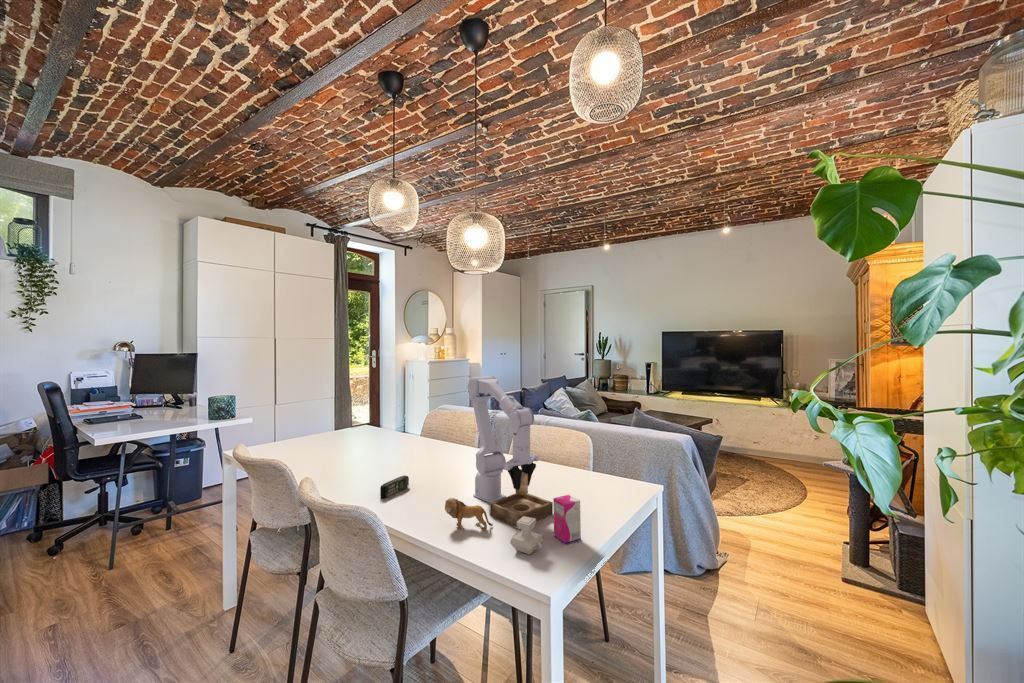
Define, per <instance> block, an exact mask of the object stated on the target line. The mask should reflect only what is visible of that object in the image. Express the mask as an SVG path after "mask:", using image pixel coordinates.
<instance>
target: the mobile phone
mask: <svg viewBox="0 0 1024 683" xmlns="http://www.w3.org/2000/svg"><path fill="white" fill-rule="evenodd" d="M409 485H410V477H409V476H408V475H402V476H399V477H396V478H394V479H391V480H389V481H387V482H384V483H383V484H381V485H380V487H379V488H380V490H379V491H380V492H379V493H380V495H379V496H380V499H383V500H384V499H386V498H389V497H391V496H394V495H395V494H397V493H399V492H402V491H404V490H406V488H407V487H409Z"/></svg>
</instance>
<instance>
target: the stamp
mask: <svg viewBox="0 0 1024 683" xmlns="http://www.w3.org/2000/svg"><path fill="white" fill-rule="evenodd" d="M536 524H537V522H536V519H534V518H530V517H525V516H523V517H522V518H521V519H519V520H518V521H517V526H518V528H517V529H519V530H521V529H522V530H521V531H519V532H518V533H516V534H515V535H513V536H512V538H511V539H510V541H509V543H510V545H511V547H513V549H514V550H515V551H517V552H520V553H525V554H527V555H531V554H532V553H533V552H534V551H535V550H536V549H541V548H542V544H541V542H542V541H543V536H542V534H540V533H536V532H533V531H532V529H533V528H535V527H536Z"/></svg>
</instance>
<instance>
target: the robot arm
mask: <svg viewBox="0 0 1024 683" xmlns="http://www.w3.org/2000/svg"><path fill="white" fill-rule="evenodd" d="M467 383H468V384H467V390H468V395H469V396H468V397H469V400H470V401H471V402H472V406H473V411H474V412H473V413H474V417H475V422H476V423H475V424H476V427H477V432H478V439H479V442H480V448H479V449H478V451H477V452H476V453H475V458H476V459H475V468H476V470H477V473H476V474H475V478H474V494H473V495H472V496H473V497H475V498H478V499H479V500H481V501H484V502H487V503H489V504H490V503H492V502H495V501H498V500H500V499H503V498H505V497H507V495H505V494H503V493H502V473H503V472H504V471H507V473H508V474H509V477H510V478H511V482H512V486H513V489H514V490H515V491H516V490H519V489H520V480H521V475H522V472H525V473H527V474H528V487H529V486H530V484H531V479H532V477H533V473H534V471H535V469H536V468H537V464H536V463H534V462H538V461H539V455H538V454H534V453H533V454H531V426H532V425H533V423H534V421H535V414H534V412H533V410H532V409H531V408H530V407H525V406H523V405H521V403H520V402H518V401H517V400H516V399H515V397H514V396H513V395H507V394H506V392H505V391H504V390H503V389H502V387H501V386H500V384H499V379H497V377H496V376H495V375H489V376H486V375H485V376H471V377H470V378H469V380H468V382H467ZM491 398H494V399H495V400H496V401H498V403H499V408H500V409H501V411H503V413H505V415H506V416H507V417H508V420H509V424H510V430H511V433H512V458H511V459H509V460H508V461H506V457H505V455H504V452H503V449H502V448H501V447H499V445H497V444H496V442H495V437H494V432H493V427H492V422H491V418H490V413H489V407H488V401H489V400H490V399H491Z"/></svg>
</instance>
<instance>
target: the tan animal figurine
mask: <svg viewBox="0 0 1024 683" xmlns="http://www.w3.org/2000/svg"><path fill="white" fill-rule="evenodd" d="M444 511H445V513H447V515H449V516H451V518H452V519H456V520H457V522H456V526H457V527H456V530H461V528H462V523H463V522H462V521H463V519H472V518H474V517H475V519H476V521H478V522H476V523H475V526H477V527H479V526H481V524H482V525H483V527H482V531H487V529H488V525H489V526H490V527H492V526H494V525H493V523H490V522H489V519H488V514H487V512H486V510H485V508H483V506H481V505H479V504H478V505H467V504H465V503H464V502H463V501H461V500H458V498H457V499H456V498H454V497H453V498H452V497H450V498H447V499H446V500H445V505H444ZM483 515H484V517H483ZM484 518H485V520H486V521H485V520H484ZM487 524H488V525H487Z"/></svg>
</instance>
